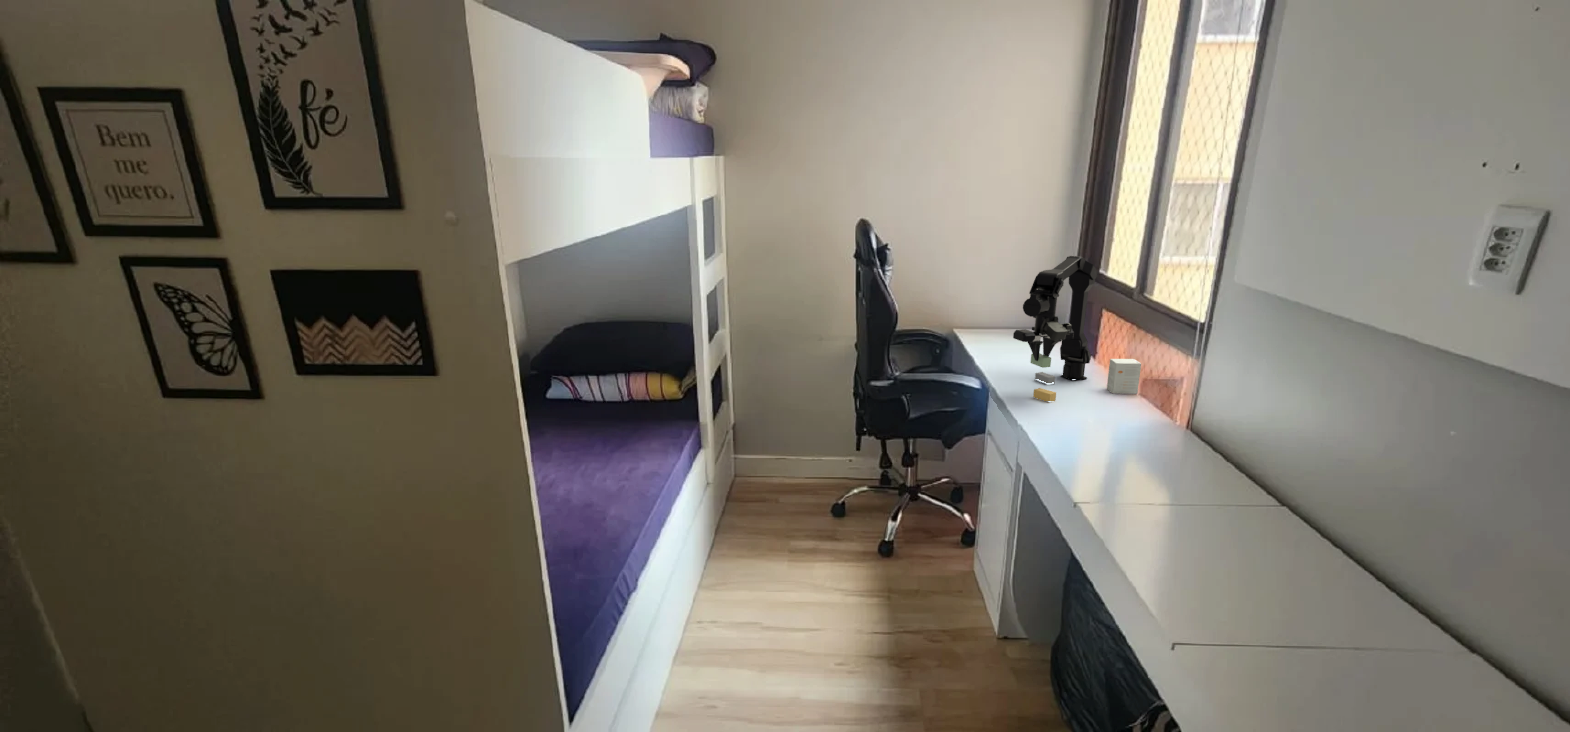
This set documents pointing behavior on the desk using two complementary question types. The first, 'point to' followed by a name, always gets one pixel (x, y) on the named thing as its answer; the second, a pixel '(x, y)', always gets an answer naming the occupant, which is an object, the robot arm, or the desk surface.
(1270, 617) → the desk surface
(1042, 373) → the slate brick
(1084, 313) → the robot arm
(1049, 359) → the sage brick
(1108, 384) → the small box
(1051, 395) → the ochre brick
